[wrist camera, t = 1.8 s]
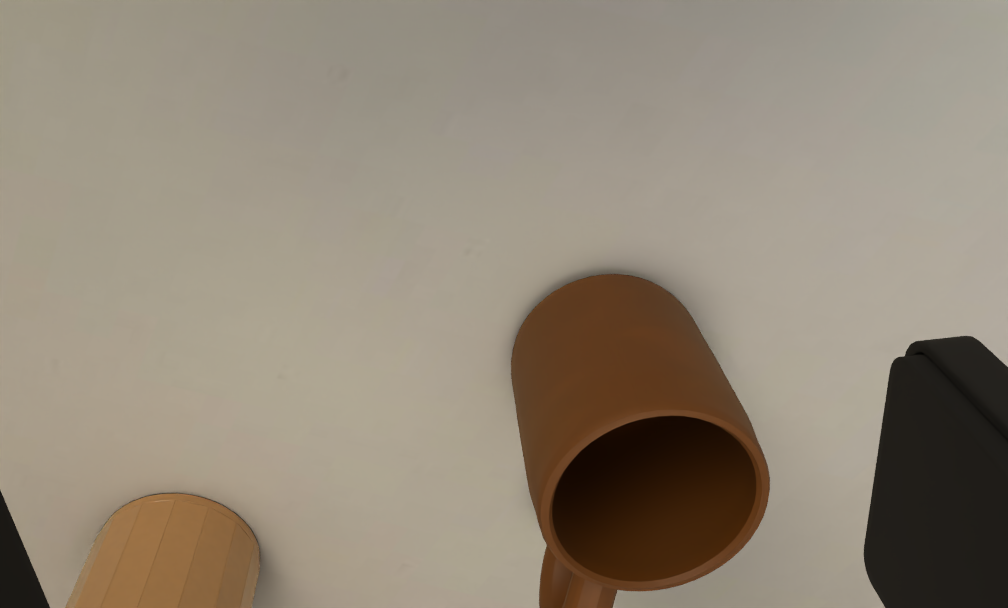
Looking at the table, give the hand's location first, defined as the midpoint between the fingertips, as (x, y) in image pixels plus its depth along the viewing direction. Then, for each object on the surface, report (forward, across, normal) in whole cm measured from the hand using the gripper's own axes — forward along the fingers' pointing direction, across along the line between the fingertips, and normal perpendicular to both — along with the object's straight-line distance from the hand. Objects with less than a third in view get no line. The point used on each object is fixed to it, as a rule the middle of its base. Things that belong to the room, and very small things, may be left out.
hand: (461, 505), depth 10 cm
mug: (+24, -5, +15) cm, 28 cm away
